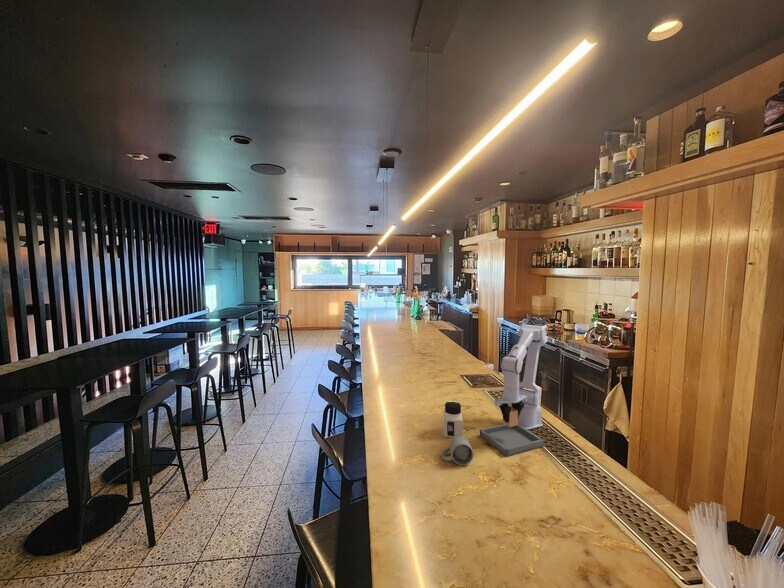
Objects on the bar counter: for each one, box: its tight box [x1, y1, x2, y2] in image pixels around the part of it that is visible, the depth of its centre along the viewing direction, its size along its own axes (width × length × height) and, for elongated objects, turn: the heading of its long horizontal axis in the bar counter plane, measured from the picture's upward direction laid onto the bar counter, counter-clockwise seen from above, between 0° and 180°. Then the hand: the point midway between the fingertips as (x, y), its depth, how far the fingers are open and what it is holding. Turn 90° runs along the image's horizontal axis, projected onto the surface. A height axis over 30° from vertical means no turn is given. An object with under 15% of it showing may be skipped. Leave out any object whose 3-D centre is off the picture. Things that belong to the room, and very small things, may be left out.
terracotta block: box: [502, 406, 518, 427], centre depth 124 cm, size 4×4×6 cm
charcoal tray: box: [479, 423, 545, 458], centre depth 124 cm, size 18×16×2 cm
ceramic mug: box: [441, 435, 474, 466], centre depth 113 cm, size 11×8×8 cm
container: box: [442, 400, 464, 438], centre depth 131 cm, size 8×8×13 cm
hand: (510, 420), depth 124 cm, fingers closed on terracotta block, 4 cm apart
